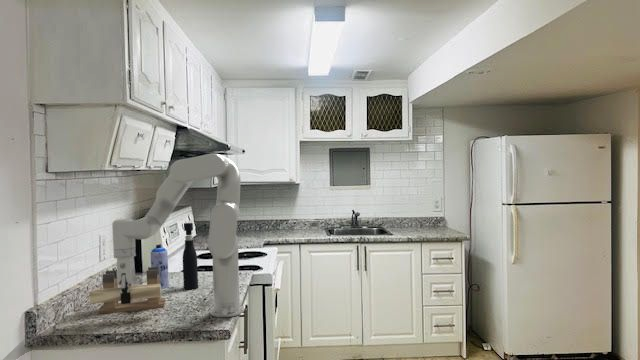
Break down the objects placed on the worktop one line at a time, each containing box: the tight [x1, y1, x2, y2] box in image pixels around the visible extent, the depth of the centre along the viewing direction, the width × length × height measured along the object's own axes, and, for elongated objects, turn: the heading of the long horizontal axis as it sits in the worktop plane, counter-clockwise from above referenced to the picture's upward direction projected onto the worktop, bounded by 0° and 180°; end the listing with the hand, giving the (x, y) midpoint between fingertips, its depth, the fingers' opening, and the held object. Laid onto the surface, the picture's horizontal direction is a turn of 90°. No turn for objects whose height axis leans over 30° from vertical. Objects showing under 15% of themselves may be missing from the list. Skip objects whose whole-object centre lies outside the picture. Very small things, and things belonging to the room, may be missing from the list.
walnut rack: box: [97, 266, 166, 315], centre depth 180 cm, size 8×24×15 cm, turn 105°
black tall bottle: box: [182, 222, 199, 291], centre depth 207 cm, size 6×6×30 cm
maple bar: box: [88, 284, 162, 305], centre depth 166 cm, size 4×24×4 cm, turn 105°
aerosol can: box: [150, 243, 170, 290], centre depth 211 cm, size 8×8×20 cm
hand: (126, 301), depth 166 cm, fingers closed on maple bar, 4 cm apart
